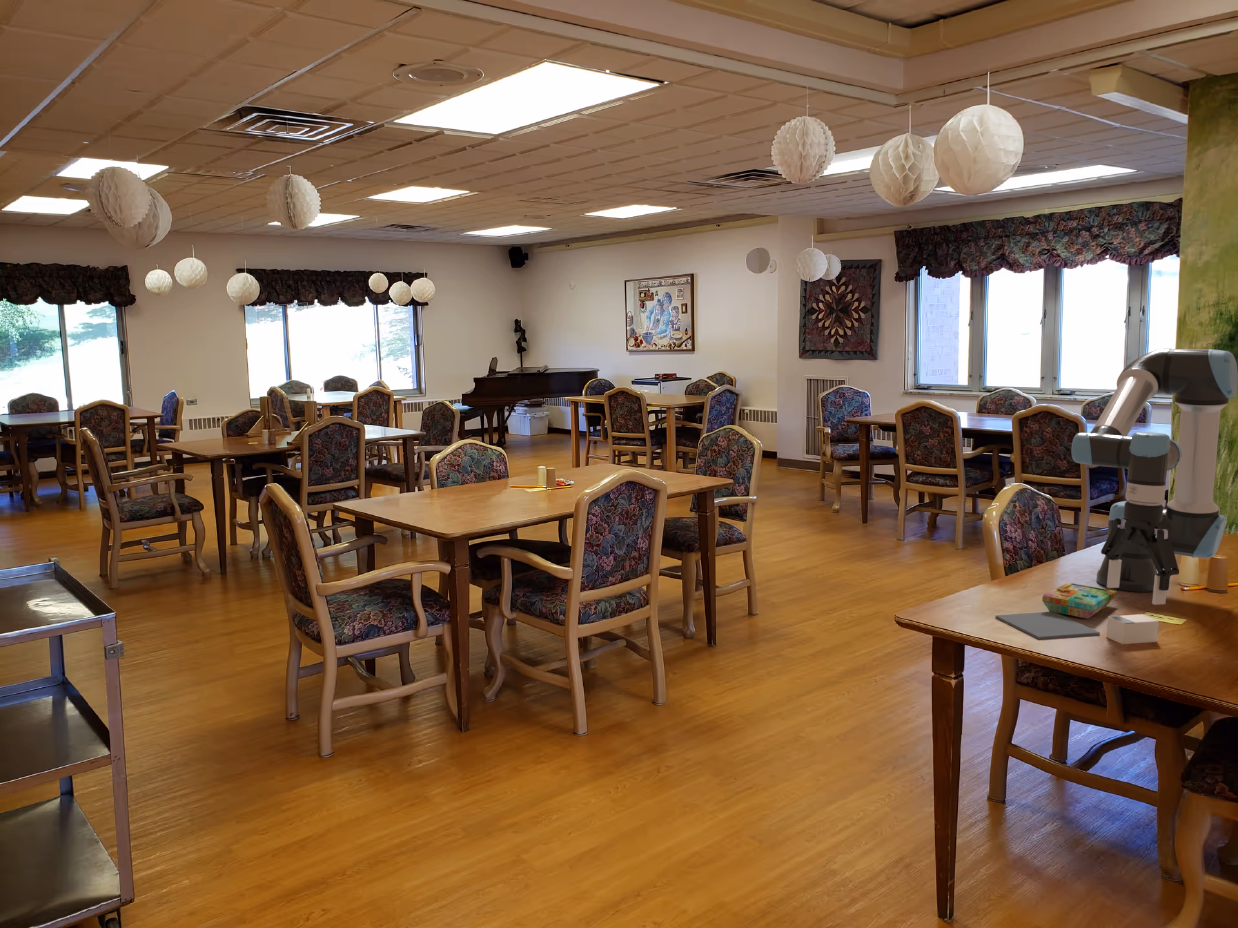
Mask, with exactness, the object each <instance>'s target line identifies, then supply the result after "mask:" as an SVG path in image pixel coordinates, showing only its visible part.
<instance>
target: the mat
mask: <svg viewBox="0 0 1238 928" xmlns="http://www.w3.org/2000/svg"><path fill="white" fill-rule="evenodd" d="M995 619H997V620H999V621H1001V622H1003V623H1005V624H1007V625H1009V626H1011V627H1013V628H1015V629H1017V630H1019V631H1021V632H1023V633H1024V634H1027V635H1028V636H1030V637H1033V638H1035V639H1037V640H1047V639H1062V638H1063V639H1064V638H1075V637H1076V638H1077V637H1086V636H1087V637H1089V636H1100V633H1101V632H1100V631H1098V630H1097V629H1094V628H1091V627H1089V626H1086V625H1085V624H1082V623H1080V622H1077V621H1075V620H1073V619H1071V618H1068V617H1067V616H1064V615H1063V614H1061V613H1057V612H1052V611H1042V612H1027V613H1026V612H1025V613H1011V614H998V615H997V614H996V615H995Z"/></svg>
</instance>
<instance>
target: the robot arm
mask: <svg viewBox="0 0 1238 928" xmlns="http://www.w3.org/2000/svg"><path fill="white" fill-rule="evenodd" d="M1116 387H1117V388H1116V389H1115V391H1114V392H1113V394H1112V395H1111V398H1110V399H1109V401H1108V402H1107V404H1106V406H1105V407H1104V409H1103V411H1102V413H1101V414H1100V416H1099V418H1098V420H1097V421H1096V423H1095V424H1094V425H1093V428H1092V430H1090V432H1077V433H1076V434H1075V435H1074V437H1073V438H1072V443H1071V449H1070V450H1071V458H1072V461H1074V462H1075V463H1077V464H1082V465H1089V466H1091V467H1093V466H1095V467H1096V466H1097V467H1109V468H1119V469H1127V479H1126V488H1125V489H1126V490H1125V501H1124V500H1123V501H1119V502H1115V503H1113V504H1112V505H1111V507H1110V509H1109V510H1110V511H1109V517H1108V518H1107V520H1108V521H1107V522H1108V524H1107V525H1108V527H1107V535H1106V536H1107V537H1106V540H1105V542H1104V544H1103V546H1102V548H1101V551H1100V553H1101V554H1102V555H1104V558H1103V560H1102V562H1101V565H1100V567H1099V570H1098V571H1097V572H1096V580H1095V581H1096V582H1097V583H1098V584H1100V585H1102V586H1104V587H1106V588H1107V589H1116V590H1120V591H1126V592H1138V593H1140V592H1141V593H1144V592H1145V593H1146V592H1148V593H1149V592H1152V601H1151V604H1152V605H1154V606H1155V605H1157V606H1158V605H1166V601H1167V600H1166V599H1167V593H1168V592H1167V591H1169V589H1170V580H1171V576H1174V575H1177V576H1178V575H1179V574H1180V569H1179V565H1178V562H1177V559H1176V555H1178V556H1186V557H1190V558H1193V559H1194V558H1198V559H1210V558H1212V557H1214V556H1216V554H1217V552H1218V549H1219V547H1220V544H1221V541H1222V540H1223V535H1224V533H1225V528H1226V516H1224V515H1222V514H1219V512H1220V508H1219V505H1217V504H1216V503H1215V501H1214V491H1215V490H1214V489H1215V488H1214V487H1215V477H1216V464H1217V456H1218V455H1217V454H1218V453H1217V452H1218V442H1219V431H1220V430H1219V429H1220V421H1221V420H1220V419H1221V411H1222V409H1223V408H1225V407H1227V406H1228V404H1229V399H1232V398H1235V397H1236V395H1237V393H1238V363H1237V361H1236V358H1235V356H1234V354H1233V353H1232V352H1230V351H1228V350H1219V349H1210V348H1207V349H1206V348H1204V349H1202V348H1201V349H1197V348H1195V349H1193V348H1189V349H1188V348H1187V349H1186V348H1182V349H1181V348H1176V349H1175V348H1162V349H1161V348H1160V349H1155V350H1153V351H1150V352H1148V353H1145V354H1143V355H1141V356H1139V357H1137V358H1136V359H1134V360H1133V361H1131V362H1130V363H1129V364H1127V365H1126V367H1124V368H1123V370H1122V371H1121V373H1120V374H1119V376H1118V378H1117V380H1116ZM1161 394H1163V395H1165V394H1166V395H1174V403H1175V404H1176V405H1177V406H1178V407H1179V408H1180V416H1179V418H1180V419H1179V431H1178V442H1177V441H1176V440H1174V439H1171V438H1170V437H1171V436H1169V435H1168V434H1166V433H1163V432H1162V433H1161V432H1152V431H1151V432H1150V431H1148V432H1147V431H1144V432H1143V431H1142V432H1141V431H1139V432H1134V433H1133V434H1132V435H1131V436H1129V433H1130V432H1131V430H1132V428H1133V427H1134V424H1135V423H1136V421H1137V419H1138V418H1139V416H1140V414H1141V412H1142V410H1143V409H1144V407H1145V405H1146V403H1147V402H1148V401H1149V400H1151V399H1153V398H1154V397H1155V396H1156V395H1161ZM1175 467H1176V470H1175V483H1174V495H1173V496H1174V497H1173V499H1171V500H1170V501H1168V502H1167V503H1166V508H1164V506H1163V505H1162V503H1164V502H1165V495H1166V483H1167V473H1168V472H1169V471H1171V470H1173V469H1174V468H1175Z"/></svg>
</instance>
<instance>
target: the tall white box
mask: <svg viewBox="0 0 1238 928" xmlns="http://www.w3.org/2000/svg"><path fill="white" fill-rule="evenodd" d="M1159 624H1160V621H1159V620H1157V619H1154V618H1152V617H1150V616H1148V615H1145V614H1143V613H1141V614H1127V615H1125V614H1124V615H1109V616H1107V624H1106V635H1105V637H1106V638H1108V639H1110V640H1113V641H1115V642H1116V643H1119V644H1121V645H1128V644H1129V645H1130V644H1142V643H1144V644H1145V643H1157V642H1158V635H1159Z"/></svg>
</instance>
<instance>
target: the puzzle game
mask: <svg viewBox="0 0 1238 928" xmlns="http://www.w3.org/2000/svg"><path fill="white" fill-rule="evenodd" d="M1117 592H1118V591H1116V590H1112V589H1108V588H1107V589H1105V588H1100V587H1097V586H1096V587H1095V586H1090V585H1084V584H1077V583H1073V582H1067V583H1064V584H1063V585H1060V586H1058V587H1056V588H1054V589H1052V590H1049V591H1047V592H1046V593H1043V595H1042V602H1043V604H1044V605H1045V607H1046V609H1047V610H1048V612H1055V613H1058V614H1061V615H1068V616H1071V617H1078V618H1083V619H1086V620H1087V619H1089V618H1091V617H1092V616H1095V614H1097V613H1099V612H1100V611H1102V610H1103V609H1105V608H1106V607H1107V606H1108V605H1109V604H1111V601H1112V600H1114V599H1115V598H1116V597H1117Z"/></svg>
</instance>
